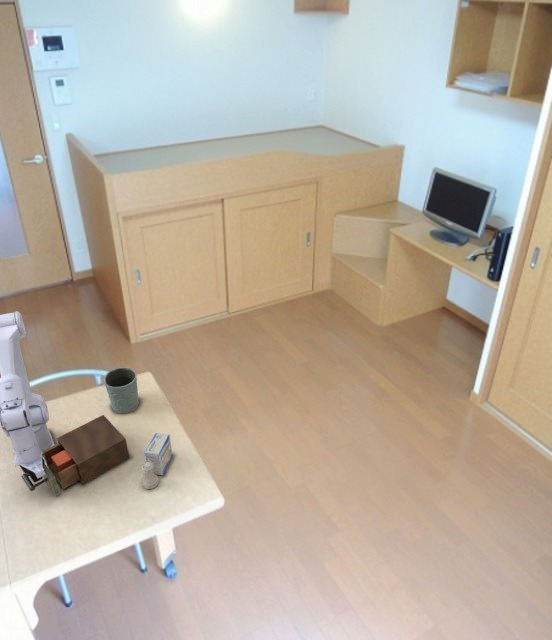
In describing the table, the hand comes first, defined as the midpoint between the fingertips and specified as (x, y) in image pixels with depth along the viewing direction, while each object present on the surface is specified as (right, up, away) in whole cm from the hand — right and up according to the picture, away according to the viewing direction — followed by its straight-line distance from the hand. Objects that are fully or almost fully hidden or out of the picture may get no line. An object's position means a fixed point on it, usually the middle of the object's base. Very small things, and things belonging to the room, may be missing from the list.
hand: (37, 479), depth 143 cm
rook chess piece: (+30, -2, +4) cm, 30 cm away
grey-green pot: (+15, +15, +31) cm, 37 cm away
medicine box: (+31, +1, +9) cm, 33 cm away
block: (+6, +1, +5) cm, 8 cm away
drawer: (+5, 0, +5) cm, 7 cm away
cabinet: (+12, +3, +11) cm, 17 cm away
